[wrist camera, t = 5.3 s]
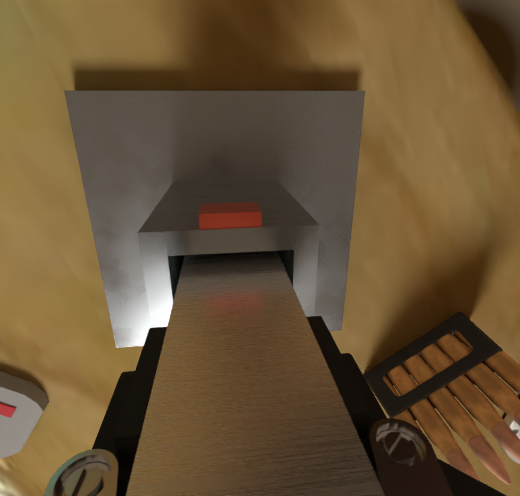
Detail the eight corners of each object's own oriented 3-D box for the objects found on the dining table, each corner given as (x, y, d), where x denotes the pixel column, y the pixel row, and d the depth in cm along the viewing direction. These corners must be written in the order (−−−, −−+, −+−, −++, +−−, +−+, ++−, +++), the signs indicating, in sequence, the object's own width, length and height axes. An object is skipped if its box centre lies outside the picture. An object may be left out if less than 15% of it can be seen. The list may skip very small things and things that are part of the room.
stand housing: (355, 92, 22) (481, 69, 12) (335, 320, 29) (403, 437, 18) (74, 92, 20) (-82, 64, 10) (121, 336, 27) (58, 477, 16)
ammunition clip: (460, 311, 30) (600, 422, 19) (467, 323, 31) (607, 439, 20) (362, 374, 32) (439, 513, 21) (371, 386, 32) (451, 526, 21)
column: (261, 212, 20) (391, 499, 5) (261, 273, 22) (362, 635, 7) (193, 215, 20) (111, 536, 5) (198, 276, 21) (149, 673, 6)
